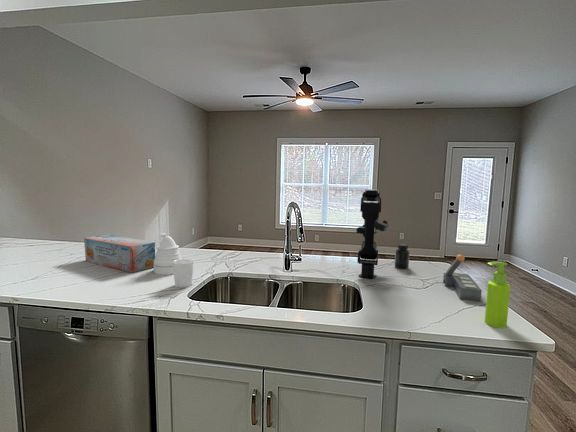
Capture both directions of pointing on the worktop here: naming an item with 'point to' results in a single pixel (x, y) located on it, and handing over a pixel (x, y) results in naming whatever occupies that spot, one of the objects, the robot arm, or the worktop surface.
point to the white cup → (183, 272)
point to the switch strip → (463, 286)
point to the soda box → (120, 252)
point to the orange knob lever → (454, 265)
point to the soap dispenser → (497, 298)
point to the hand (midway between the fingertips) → (369, 245)
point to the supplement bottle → (402, 257)
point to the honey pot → (166, 256)
